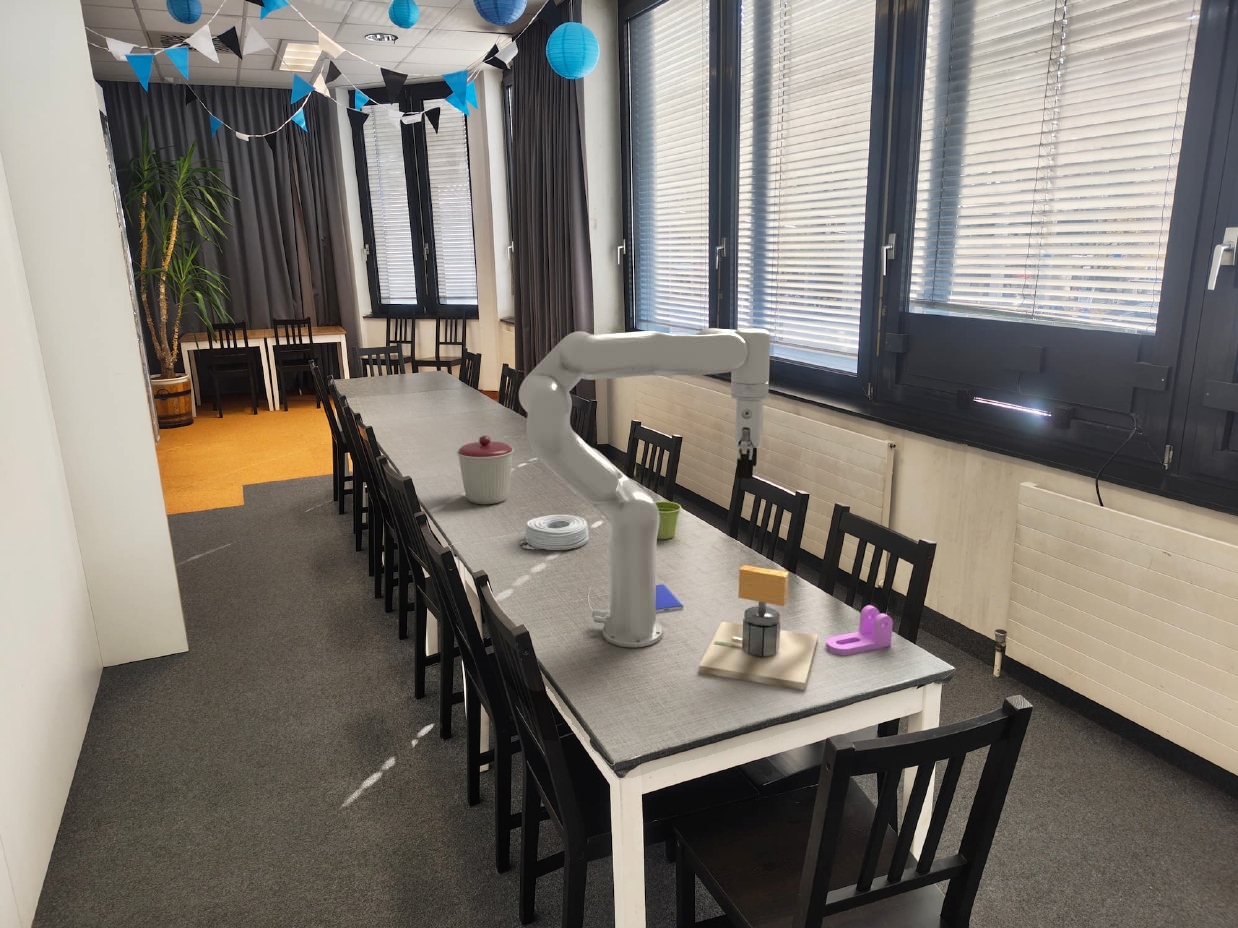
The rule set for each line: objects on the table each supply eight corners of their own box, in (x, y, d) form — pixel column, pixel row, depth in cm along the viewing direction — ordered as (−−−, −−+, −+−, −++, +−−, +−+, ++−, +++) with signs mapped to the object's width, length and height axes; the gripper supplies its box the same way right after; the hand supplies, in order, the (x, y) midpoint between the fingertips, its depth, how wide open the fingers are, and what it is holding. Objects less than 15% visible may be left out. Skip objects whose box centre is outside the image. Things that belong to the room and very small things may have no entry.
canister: (455, 494, 271) (452, 431, 266) (510, 489, 276) (508, 428, 271) (462, 511, 254) (458, 444, 249) (520, 505, 260) (518, 440, 254)
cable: (516, 550, 223) (515, 529, 221) (537, 529, 239) (537, 509, 238) (578, 555, 219) (577, 534, 217) (596, 533, 235) (595, 513, 233)
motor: (778, 659, 159) (782, 580, 155) (727, 648, 163) (729, 571, 159) (787, 644, 165) (791, 568, 161) (737, 634, 169) (740, 560, 165)
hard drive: (631, 588, 195) (649, 609, 183) (664, 583, 197) (683, 604, 186) (631, 594, 195) (649, 616, 184) (664, 589, 198) (683, 611, 186)
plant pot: (681, 530, 236) (681, 501, 234) (680, 542, 227) (680, 512, 225) (648, 529, 237) (648, 500, 235) (646, 541, 228) (646, 511, 226)
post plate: (698, 672, 158) (699, 634, 156) (721, 627, 177) (722, 593, 175) (804, 690, 152) (807, 650, 150) (817, 642, 170) (819, 606, 168)
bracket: (873, 634, 174) (875, 603, 172) (890, 646, 169) (893, 614, 167) (820, 645, 169) (822, 613, 168) (836, 657, 164) (838, 625, 163)
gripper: (765, 398, 159) (761, 484, 164) (771, 384, 175) (767, 462, 180) (726, 397, 161) (723, 481, 165) (735, 382, 177) (732, 460, 182)
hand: (746, 471), depth 173 cm, fingers open, 9 cm apart
